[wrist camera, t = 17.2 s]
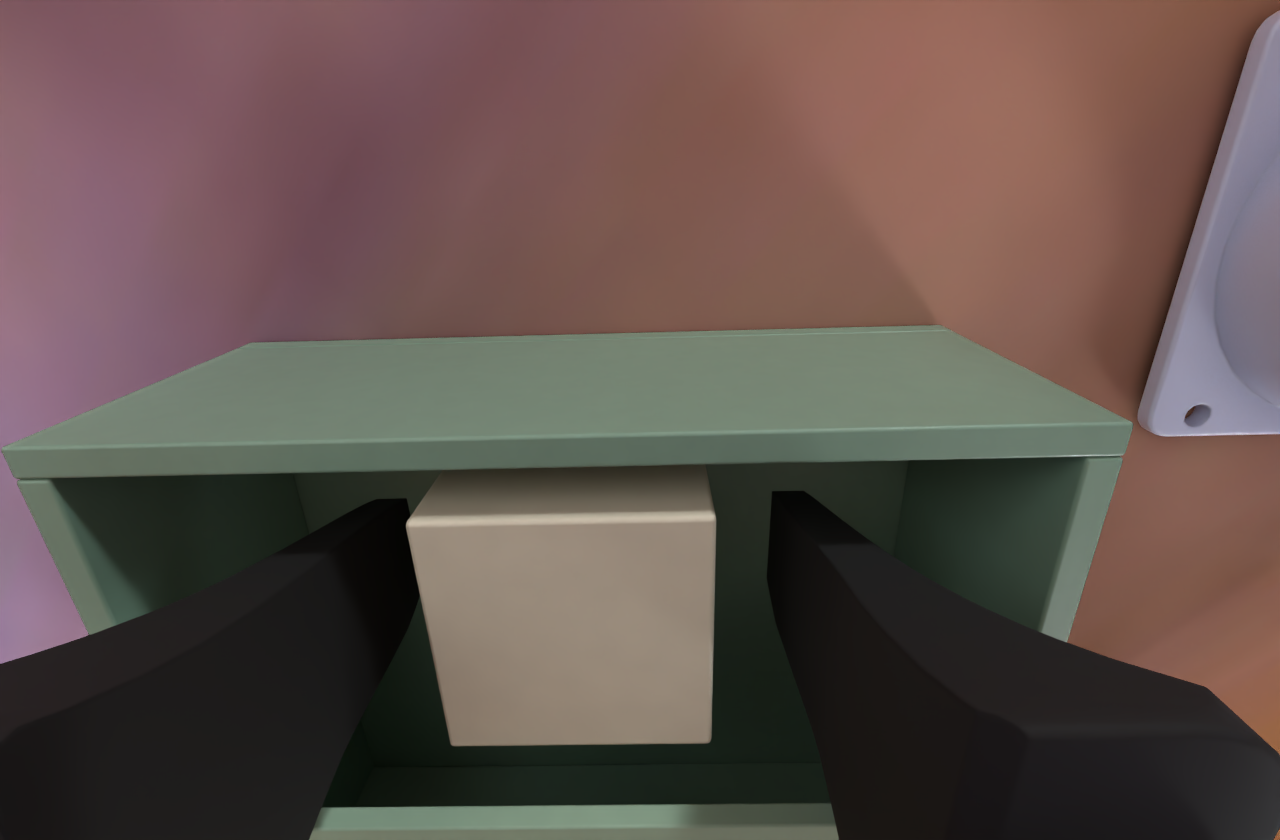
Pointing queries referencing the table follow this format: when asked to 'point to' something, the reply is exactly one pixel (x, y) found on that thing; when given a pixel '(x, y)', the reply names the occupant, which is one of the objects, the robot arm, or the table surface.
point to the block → (570, 603)
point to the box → (590, 437)
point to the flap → (580, 822)
